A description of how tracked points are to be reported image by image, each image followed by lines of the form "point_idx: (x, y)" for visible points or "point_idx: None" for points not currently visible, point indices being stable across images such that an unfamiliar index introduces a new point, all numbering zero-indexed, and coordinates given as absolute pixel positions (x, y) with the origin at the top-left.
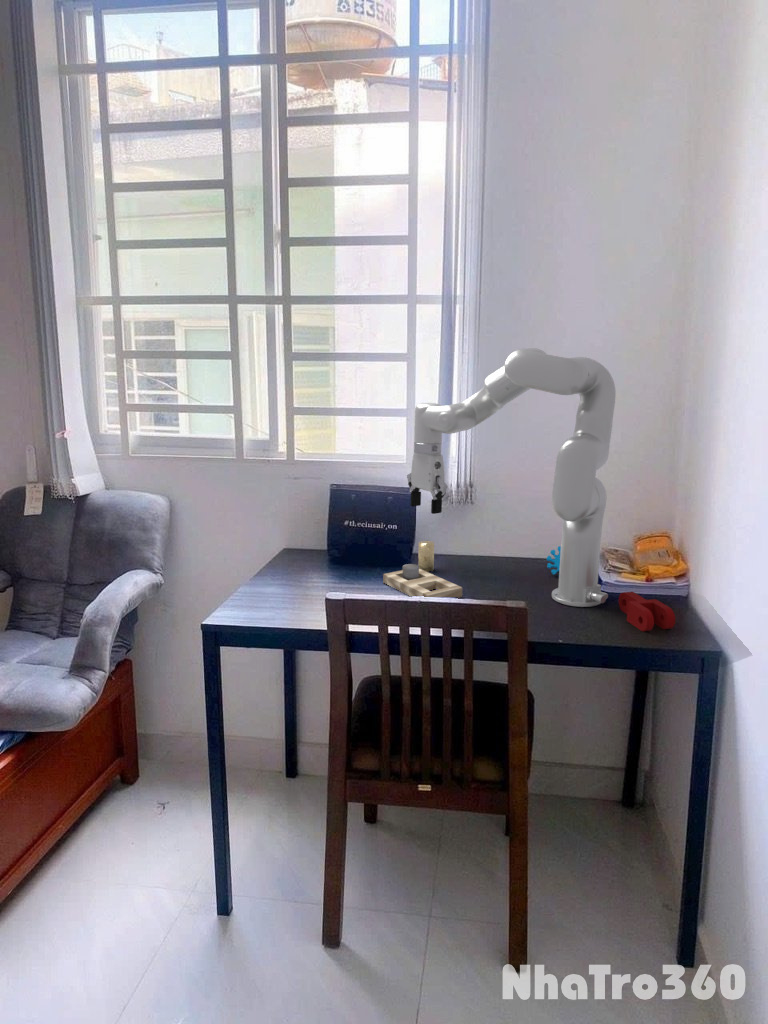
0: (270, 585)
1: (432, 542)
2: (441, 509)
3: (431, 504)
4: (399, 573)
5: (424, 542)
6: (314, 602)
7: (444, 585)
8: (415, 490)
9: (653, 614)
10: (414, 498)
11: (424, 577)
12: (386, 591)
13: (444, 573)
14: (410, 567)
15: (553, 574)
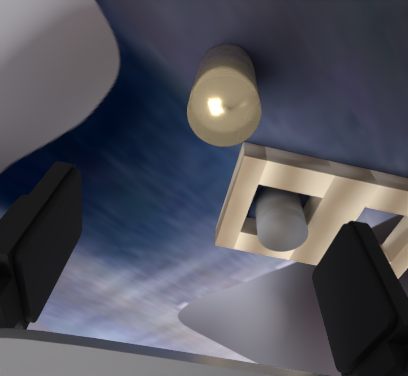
0: (85, 330)
1: (240, 87)
2: (375, 239)
3: (332, 338)
4: (243, 220)
5: (213, 114)
6: (202, 338)
7: (403, 213)
8: (5, 327)
9: None
10: (55, 267)
11: (322, 206)
12: (261, 256)
13: (302, 56)
14: (287, 240)
15: None
